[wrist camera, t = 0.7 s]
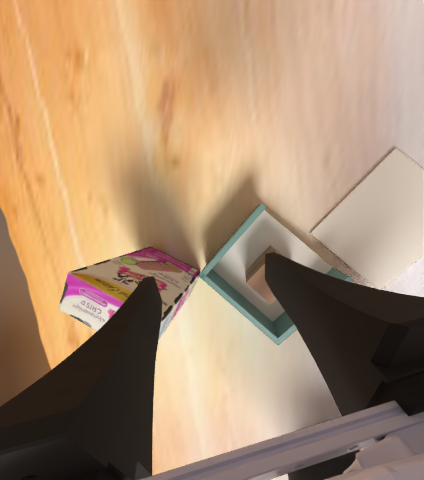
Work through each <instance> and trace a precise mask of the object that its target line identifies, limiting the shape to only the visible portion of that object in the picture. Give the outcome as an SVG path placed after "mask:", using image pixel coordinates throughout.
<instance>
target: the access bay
mask: <svg viewBox="0 0 424 480" xmlns="http://www.w3.org/2000/svg"><path fill="white" fill-rule="evenodd" d="M265 209H266V207H265V206H264V205H263V204H260V205H259V206H257V207H256V209H255V210H254V211H253V212H252V213H251V214H250V215H249V217H248V218H247V219H246V220H245V221H244V222H243V223H242V225H241V226H240V227H239V228H238V229H237V230H236V231H235V233H234V234H233V235H232V236H231V237H230V238H229V239H228V241H227V242H226V243H225V244H224V245H223V246H222V247H221V249H220V250H219V251H218V252H217V253H216V254H215V255H214V257H213V258H212V259H211V260H210V261H209V262H208V263H207V265H206V266H205V267H204V269H203V270H202V272H201V273H200V274H199V277H200V278H201V279H203V280H204V281H205V282H206V283H207V284H208V285H209V286H211V287H212V288H213V289H214V290H215V291H216V292H217V293H219V294H220V295H221V296H222V297H223V298H224V299H225V300H227V301H228V302H229V303H230V304H231V305H232V306H234V307H235V308H236V309H237V310H238V311H239V312H240V313H242V314H243V315H244V316H245V317H246V318H247V319H248V320H250V321H251V322H252V323H253V324H254V325H255V326H256V327H258V328H259V329H260V330H261V331H262V332H263V333H264V334H266V335H267V336H268V337H269V338H270V339H271V340H272V341H274V342H275V343H276V344H277V345H279V344H280V343H282V342H283V341H284V340H285V339H286V338H287V337H289V336H290V335H291V334H292V333H293V332H294V331H296V330H297V328H296V326H295V325H294V323H293V322H292V320H291V319H290V317H289V316H288V315H287V313H286V312H285V310H284V309H283V307H282V306H281V305H280V303H279V302H278V300H277V299H276V300H275V301H274V302H273V303H272V304H270V303H268V302H267V301H266V300H265V299H264V298H263V297H261V296H260V295H259V294H258V293H257V292H256V291H255V290H253V289H252V288H251V287H250V286H249V285H248V284H246V277H245V271H246V270H247V269H248V268H249V267H250V266H251V265H252V264H253V263H254V262H255V261H256V260H257V259H258V258H259V257H260V255H261V254H262V253H263V252H264V251H265V250H266V249H267V248H268V247H269V246H270V245H271V246H272V247H273V248H275V249H276V250H277V251H278V252H279V253H280V254H282V255H283V256H284V257H287V258H289V259H291V260H293V261H295V262H297V263H300V264H302V265H304V266H306V267H309V268H311V269H314V270H316V271H319V272H321V273H324V274H327V275H329V276H332V277H335V278H338V279H341V280H345V281H348V282H353V280H352V279H351V278H350V277H349V276H347V275H345V274H343V273H342V272H340V271H338V270H336V269H335V268H333V267H332V266H330V265H329V264H328V263H327V262H326V261H325V260H323V259H322V258H321V257H320V256H319V255H317V254H316V253H315V252H314V251H313V250H311V249H310V248H309V247H308V246H307V245H306V244H304V243H303V242H302V241H301V240H300V239H298V238H297V237H296V236H295V235H294V234H292V233H291V232H290V231H289V230H288V229H287V228H285V227H284V226H283V225H282V224H281V223H279V222H278V221H277V220H276V219H275V218H273V217H272V216H271V215H270V214H269V213H267V212H266V211H265Z"/></svg>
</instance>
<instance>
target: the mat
mask: <svg viewBox="0 0 424 480" xmlns="http://www.w3.org/2000/svg"><path fill="white" fill-rule="evenodd" d="M310 234H312V235H313V236H314V237H315V238H316V239H318V240H319V241H320V242H321V243H322V244H323V245H325V246H326V247H327V248H328V249H329V250H331V251H332V252H333V253H334V254H335V255H337V256H338V257H339V258H340V259H341V260H343V261H344V262H345V263H346V264H347V265H349V266H350V267H351V268H352V269H353V270H355V271H356V272H357V273H358V274H359V275H361V276H362V277H363V278H364V279H365V280H366V281H368V282H369V283H370V284H371V285H372V286H374V287H375V288H376V289H379V290H381V289H383V288H384V287H385V286H386V285H388V284H389V283H390V282H391V281H392V280H394V279H395V278H396V277H397V276H399V275H400V274H401V273H402V272H404V271H405V270H406V269H407V268H409V267H410V266H411V265H412V264H413V263H415V262H416V261H417V260H418V259H420V258H421V257H422V256H423V255H424V169H422V168H421V167H420V166H419V165H417V164H416V163H415V162H414V161H412V160H411V159H410V158H409V157H407V156H406V155H405V154H403V153H402V152H401V151H400V150H398V149H397V148H395V149H393V150H392V151H391V152H390V153H389V154H388V155H387V156H386V157H385V158H384V159H383V160H382V161H381V162H380V163H379V164H378V165H377V166H376V167H375V168H374V169H373V170H372V171H371V172H370V173H369V174H368V175H367V176H366V177H365V178H364V179H363V180H362V181H361V182H360V183H359V184H358V185H357V186H356V187H355V188H354V189H353V190H352V191H351V192H350V193H349V194H348V195H347V196H346V197H345V198H344V199H343V200H342V201H341V202H340V203H339V204H338V205H337V206H336V207H335V208H334V209H333V210H332V211H331V212H330V213H329V214H328V215H327V216H326V217H325V218H324V219H323V220H322V221H321V222H320V223H319V224H318V225H317V226H316V227H315V228H314V229H313V230H312V231H311V232H310Z"/></svg>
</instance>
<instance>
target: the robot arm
mask: <svg viewBox="0 0 424 480" xmlns="http://www.w3.org/2000/svg"><path fill="white" fill-rule="evenodd" d="M265 280H266V282H267V284H268V286H269V288H270V290H271V292H272V293H273V295H274V296H275V298H276V299H277V300H278V302H279V303H280V305H281V306H282V307H283V309H284V310H285V312H286V313H287V315H288V316H289V317H290V319H291V320H292V322H293V323H294V325H295V326H296V328H297V330H298V331H299V333H300V335H301V337H302V338H303V340H304V342H305V343H306V345H307V347H308V349H309V351H310V353H311V355H312V356H313V358H314V360H315V362H316V364H317V366H318V368H319V370H320V372H321V374H322V376H323V378H324V379H325V381H326V383H327V385H328V388H329V390H330V392H331V394H332V396H333V398H334V400H335V402H336V404H337V406H338V408H339V411H340V413H341V415H342V417H339V418H336V419H333V420H330V421H326V422H323V423H320V424H317V425H314V426H310V427H307V428H304V429H301V430H298V431H294V432H291V433H288V434H285V435H281V436H278V437H275V438H272V439H269V440H265V441H262V442H259V443H256V444H253V445H249V446H246V447H243V448H240V449H237V450H233V451H230V452H227V453H224V454H220V455H217V456H214V457H211V458H208V459H204V460H201V461H198V462H195V463H192V464H188V465H185V466H182V467H179V468H176V469H172V470H169V471H166V472H163V473H160V474H156V475H153V476H152V426H153V394H154V374H155V360H156V352H157V345H158V339H159V332H160V326H161V319H162V298H161V295H160V292H159V289H158V286H157V283H156V280H155V277H154V276H151V277H146V278H143V280H142V281H141V282H140V283H139V285H138V286H137V287H136V288H135V290H134V291H133V292H132V293H131V295H130V296H129V297H128V298H127V300H126V301H125V302H124V303H123V304H122V305H121V307H120V308H119V309H118V310H117V311H116V312H115V313H114V314H113V316H112V317H111V318H110V319H109V320H108V321H107V322H106V323H105V324H104V325H103V326H102V327H101V328H100V329H99V330H98V331H97V332H96V333H95V334H94V335H93V336H92V337H90V338H89V339H88V340H87V341H86V342H85V343H84V344H82V345H81V346H80V347H79V348H78V349H77V350H76V351H74V352H73V353H72V354H71V355H70V356H69V357H67V358H66V359H65V360H64V361H62V362H61V363H60V364H59V365H57V366H56V367H55V368H53V369H52V370H51V371H50V372H48V373H47V374H46V375H44V376H43V377H42V378H40V379H39V380H38V381H36V382H35V383H34V384H32V385H31V386H29V387H28V388H27V389H25V390H24V391H22V392H21V393H19V394H18V395H17V396H15V397H14V398H12V399H11V400H9V401H8V402H7V403H5V404H4V405H2V406H1V407H0V480H270V479H273V478H276V477H279V476H282V475H284V474H287V473H290V472H293V471H296V470H299V469H302V468H305V467H308V466H311V465H314V464H317V463H320V462H323V461H326V460H329V459H332V458H335V457H338V456H341V455H344V454H347V453H350V452H353V451H356V450H359V449H360V450H361V451H360V452H358V453H356V459H355V461H354V462H353V463H352V465H351V466H350V467H349V468H347V469H346V470H345V471H344V472H343V474H342V475H338V476H335V477H331V478H328V479H325V480H424V297H418V296H411V295H405V294H399V293H394V292H389V291H384V290H379V289H375V288H371V287H367V286H363V285H359V284H355V283H351V282H348V281H345V280H341V279H338V278H335V277H332V276H329V275H327V274H324V273H321V272H319V271H316V270H314V269H311V268H309V267H306V266H304V265H302V264H300V263H297V262H295V261H293V260H291V259H289V258H287V257H284V256H282V255H280V254H278V253H275V252H272V253H267V254H265Z"/></svg>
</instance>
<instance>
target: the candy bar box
mask: <svg viewBox="0 0 424 480" xmlns="http://www.w3.org/2000/svg"><path fill="white" fill-rule="evenodd" d="M199 274H200V270H198V269H196V268H193V267H191V266H189V265H187V264H185V263H183V262H181V261H179V260H177V259H175V258H173V257H171V256H168V255H166V254H164V253H162V252H160V251H158V250H156V249H154V248H152V247H148V248H145V249H141V250H138V251H135V252H132V253H128V254H125V255H123V256H120V257H116V258H113V259H109V260H106V261H103V262H100V263H97V264H94V265H90V266H87V267H84V268H81V269H77V270H74V271H71V272H69V273H68V276H67V279H66V283H65V287H64V291H63V295H62V298H61V301H60V305H59V310H61V311H63V312H65V313H67V314H68V315H70V316H72V317H74V318H75V319H77V320H79V321H81V322H82V323H84V324H86V325H87V326H89V327H91V328H93V329H94V330H96V331H98V330H99V329H100V328H101V327H102V326H103V325H104V324H105V323H106V322H107V321H108V320H109V319H110V318H111V317H112V316H113V314H114V313H115V312H116V311H117V310H118V309H119V308H120V307H121V305H122V304H123V303H124V302H125V301H126V300H127V298H128V297H129V296H130V295H131V293H132V292H133V291H134V290H135V288H136V287H137V286H138V285H139V283H140V282H141V281H142V280H143V278H146V277H151V276H154V277H155V280H156V283H157V286H158V289H159V292H160V295H161V298H162V319H161V326H160V332H159V338H160V337H161V336H162V334H163V333H164V332H165V330H166V328H167V327H168V326H169V324H170V323H171V321H172V320H173V318H174V317H175V315H176V314H177V312H178V311H179V309H180V308H181V306H182V305H183V304H184V302H185V301H186V299H187V298H188V296H189V295H190V293H191V292H192V290H193V287H194V285H195V283H196V281H197V279H198V276H199ZM158 340H159V339H158Z"/></svg>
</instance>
